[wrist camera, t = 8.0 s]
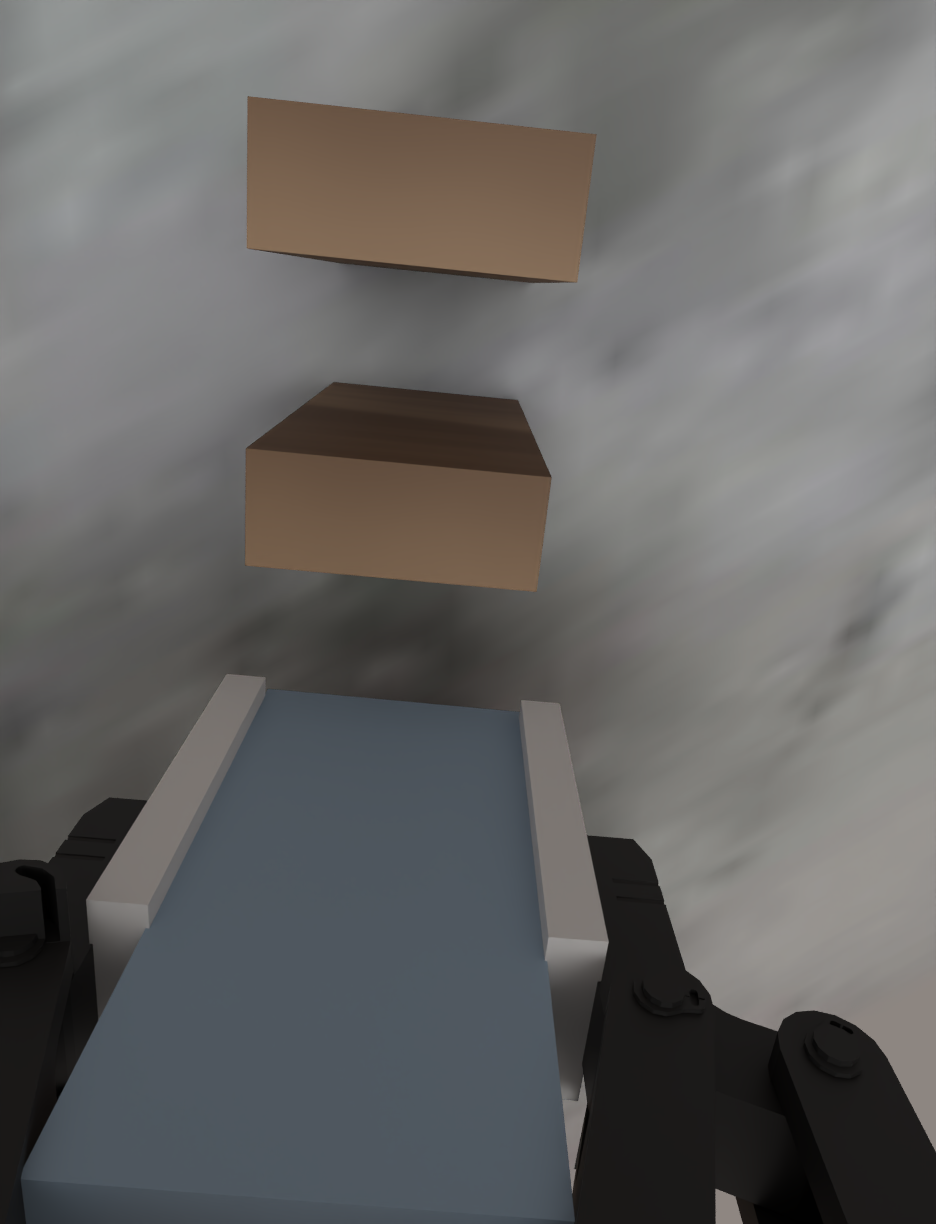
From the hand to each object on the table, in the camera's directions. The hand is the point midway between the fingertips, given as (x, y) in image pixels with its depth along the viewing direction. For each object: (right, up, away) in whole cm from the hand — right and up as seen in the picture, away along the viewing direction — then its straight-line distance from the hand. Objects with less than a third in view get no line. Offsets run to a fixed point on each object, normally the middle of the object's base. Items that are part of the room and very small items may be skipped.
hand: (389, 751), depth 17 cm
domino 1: (+1, +12, +5) cm, 13 cm away
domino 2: (0, +8, +7) cm, 10 cm away
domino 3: (0, 0, 0) cm, 0 cm away
